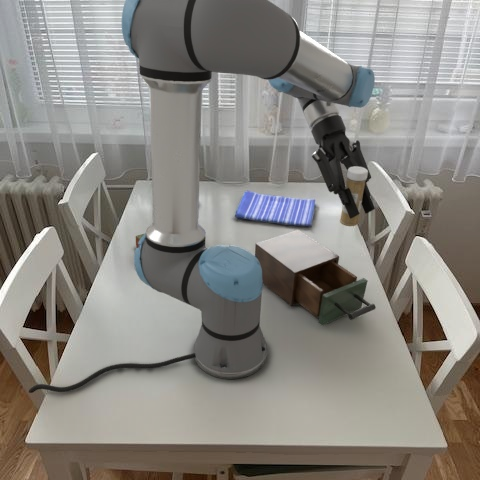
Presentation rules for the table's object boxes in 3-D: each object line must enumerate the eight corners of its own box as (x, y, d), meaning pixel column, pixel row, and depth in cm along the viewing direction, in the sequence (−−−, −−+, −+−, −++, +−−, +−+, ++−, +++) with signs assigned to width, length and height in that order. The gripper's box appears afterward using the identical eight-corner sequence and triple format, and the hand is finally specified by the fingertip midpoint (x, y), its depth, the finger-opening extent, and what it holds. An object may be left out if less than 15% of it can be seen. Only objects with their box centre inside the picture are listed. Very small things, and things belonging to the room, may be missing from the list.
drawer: (380, 321, 112) (387, 293, 107) (339, 340, 106) (345, 311, 101) (321, 278, 125) (325, 252, 120) (282, 293, 119) (284, 266, 114)
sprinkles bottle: (361, 224, 120) (372, 170, 111) (348, 228, 118) (358, 174, 109) (348, 216, 123) (358, 164, 114) (335, 221, 120) (343, 167, 112)
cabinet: (333, 289, 123) (339, 256, 117) (291, 306, 117) (294, 272, 111) (295, 261, 133) (298, 229, 127) (253, 275, 127) (255, 243, 121)
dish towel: (244, 196, 164) (245, 188, 162) (315, 204, 160) (316, 196, 158) (233, 220, 151) (233, 211, 149) (310, 229, 147) (311, 220, 145)
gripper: (305, 118, 108) (345, 216, 108) (361, 108, 116) (399, 199, 116) (288, 136, 115) (325, 228, 115) (342, 125, 123) (378, 211, 122)
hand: (362, 213), depth 115 cm, fingers closed on sprinkles bottle, 4 cm apart
